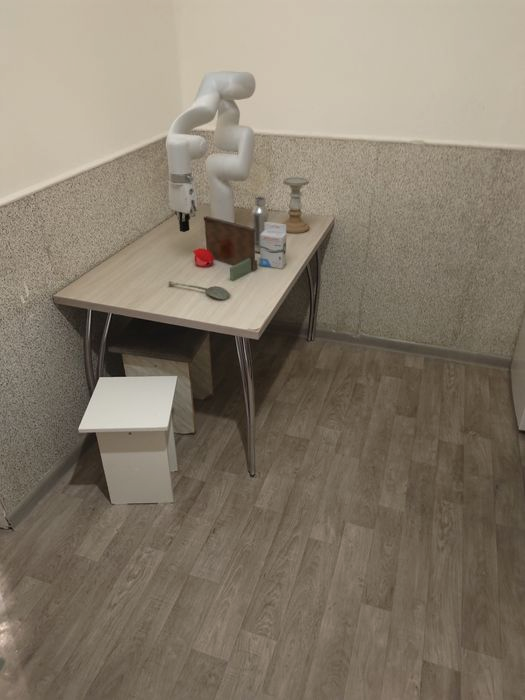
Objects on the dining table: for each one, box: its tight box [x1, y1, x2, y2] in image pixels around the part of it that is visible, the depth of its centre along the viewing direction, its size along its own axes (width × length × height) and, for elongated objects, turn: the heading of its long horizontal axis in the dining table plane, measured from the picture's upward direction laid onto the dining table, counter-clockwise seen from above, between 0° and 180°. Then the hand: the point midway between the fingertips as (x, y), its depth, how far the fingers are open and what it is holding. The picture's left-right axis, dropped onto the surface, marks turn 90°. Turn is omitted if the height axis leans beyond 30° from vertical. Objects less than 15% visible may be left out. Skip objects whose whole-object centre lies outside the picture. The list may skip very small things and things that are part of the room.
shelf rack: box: [203, 215, 258, 281], centre depth 178 cm, size 23×13×15 cm, turn 52°
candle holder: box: [281, 176, 310, 234], centre depth 211 cm, size 12×12×20 cm
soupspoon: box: [168, 280, 230, 301], centre depth 165 cm, size 22×3×7 cm
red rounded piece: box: [192, 247, 215, 268], centre depth 182 cm, size 8×6×6 cm
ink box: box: [259, 221, 288, 270], centre depth 180 cm, size 8×5×15 cm, turn 71°
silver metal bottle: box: [250, 196, 269, 253], centre depth 190 cm, size 6×7×20 cm
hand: (184, 230), depth 182 cm, fingers closed
